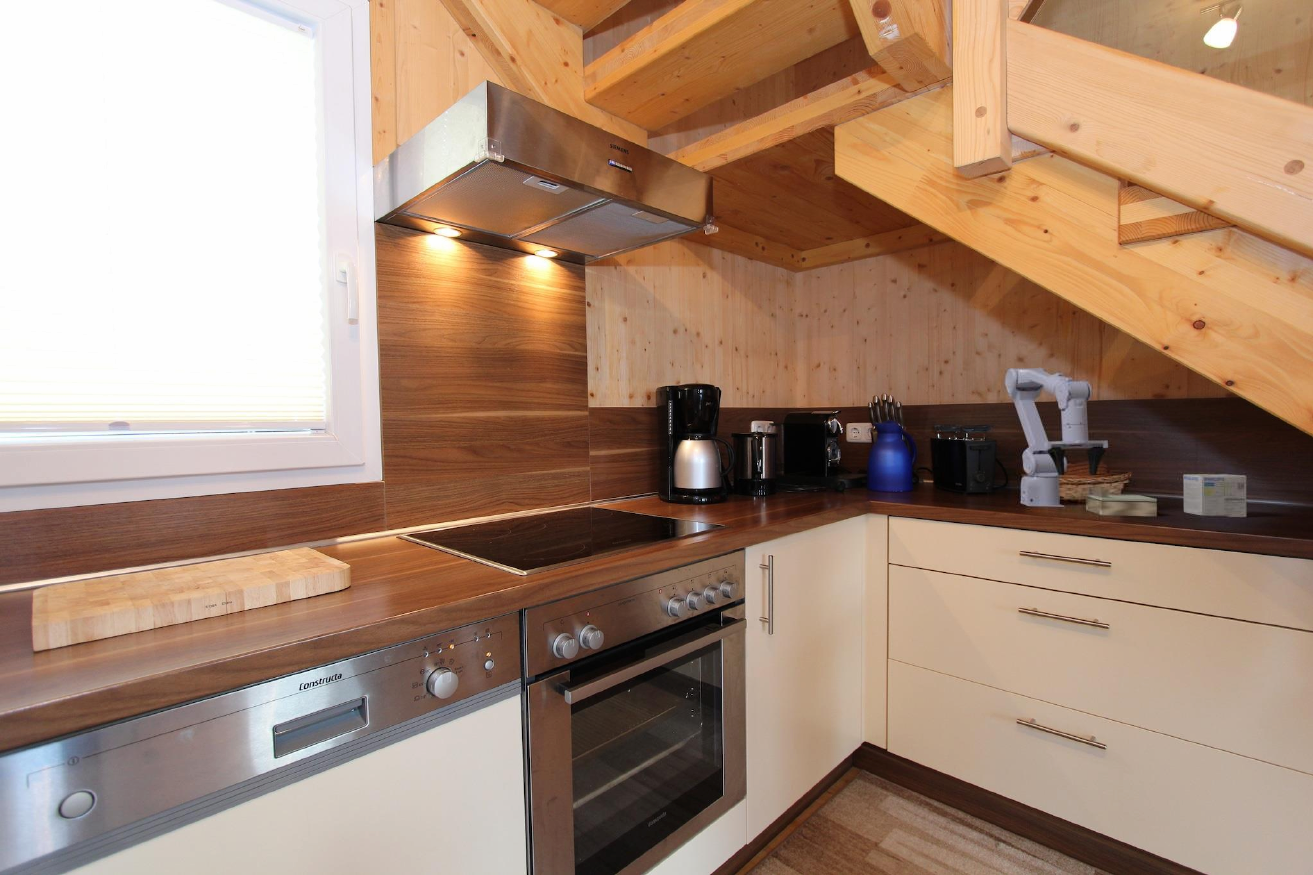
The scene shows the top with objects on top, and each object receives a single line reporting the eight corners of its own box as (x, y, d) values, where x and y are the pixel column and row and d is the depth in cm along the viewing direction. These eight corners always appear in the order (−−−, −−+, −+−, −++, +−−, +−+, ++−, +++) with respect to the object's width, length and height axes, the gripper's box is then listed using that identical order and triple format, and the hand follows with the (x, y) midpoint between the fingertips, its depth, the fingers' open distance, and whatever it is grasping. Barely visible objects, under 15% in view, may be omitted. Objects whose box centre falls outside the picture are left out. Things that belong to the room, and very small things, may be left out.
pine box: (1101, 516, 155) (1101, 501, 154) (1086, 511, 164) (1086, 497, 164) (1156, 518, 151) (1156, 502, 151) (1137, 512, 161) (1137, 498, 161)
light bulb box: (1225, 513, 157) (1225, 473, 157) (1248, 517, 150) (1248, 475, 150) (1181, 513, 158) (1181, 473, 158) (1202, 517, 151) (1202, 475, 151)
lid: (1101, 500, 154) (1101, 490, 154) (1086, 496, 164) (1085, 486, 164) (1156, 501, 151) (1156, 491, 151) (1137, 496, 161) (1137, 487, 161)
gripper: (1051, 424, 158) (1053, 475, 158) (1112, 423, 155) (1115, 475, 154) (1040, 426, 165) (1042, 475, 165) (1099, 425, 162) (1101, 474, 161)
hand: (1077, 475), depth 160 cm, fingers open, 7 cm apart
